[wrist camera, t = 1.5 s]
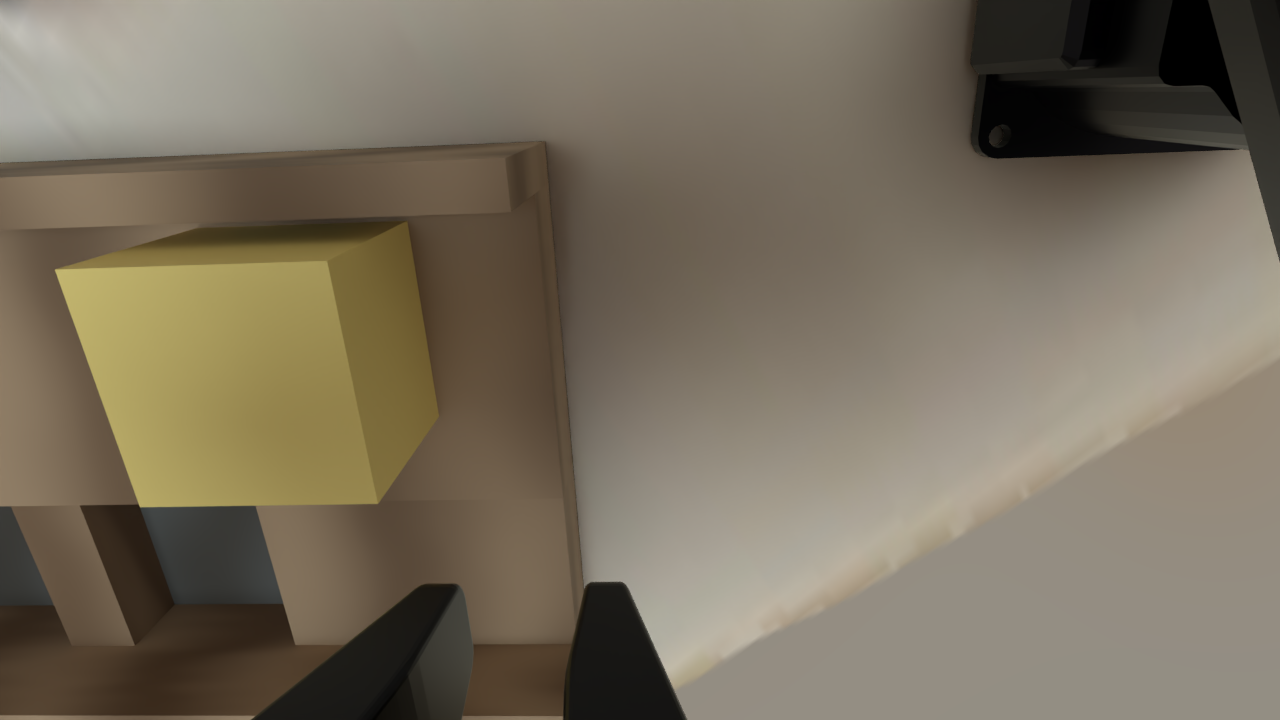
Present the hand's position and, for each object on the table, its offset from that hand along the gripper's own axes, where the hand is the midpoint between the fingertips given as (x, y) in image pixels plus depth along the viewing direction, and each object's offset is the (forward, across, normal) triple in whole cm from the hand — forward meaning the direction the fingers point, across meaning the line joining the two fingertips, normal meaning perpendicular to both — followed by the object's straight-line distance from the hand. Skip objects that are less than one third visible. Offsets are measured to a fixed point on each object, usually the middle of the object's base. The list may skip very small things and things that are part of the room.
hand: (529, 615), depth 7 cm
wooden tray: (+12, +13, +4) cm, 18 cm away
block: (+10, +7, 0) cm, 12 cm away
